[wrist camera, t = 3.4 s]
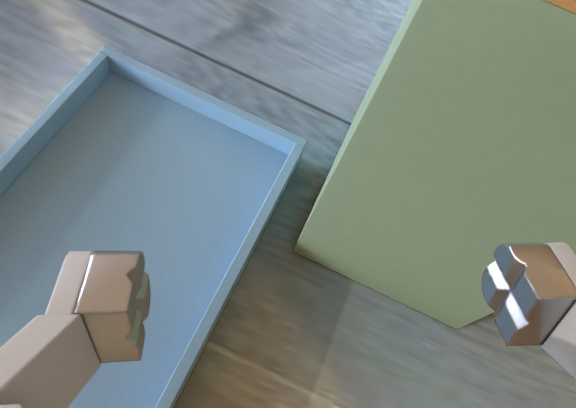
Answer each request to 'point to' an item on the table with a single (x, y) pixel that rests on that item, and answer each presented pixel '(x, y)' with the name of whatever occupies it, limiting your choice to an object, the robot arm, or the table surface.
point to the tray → (140, 210)
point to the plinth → (454, 154)
